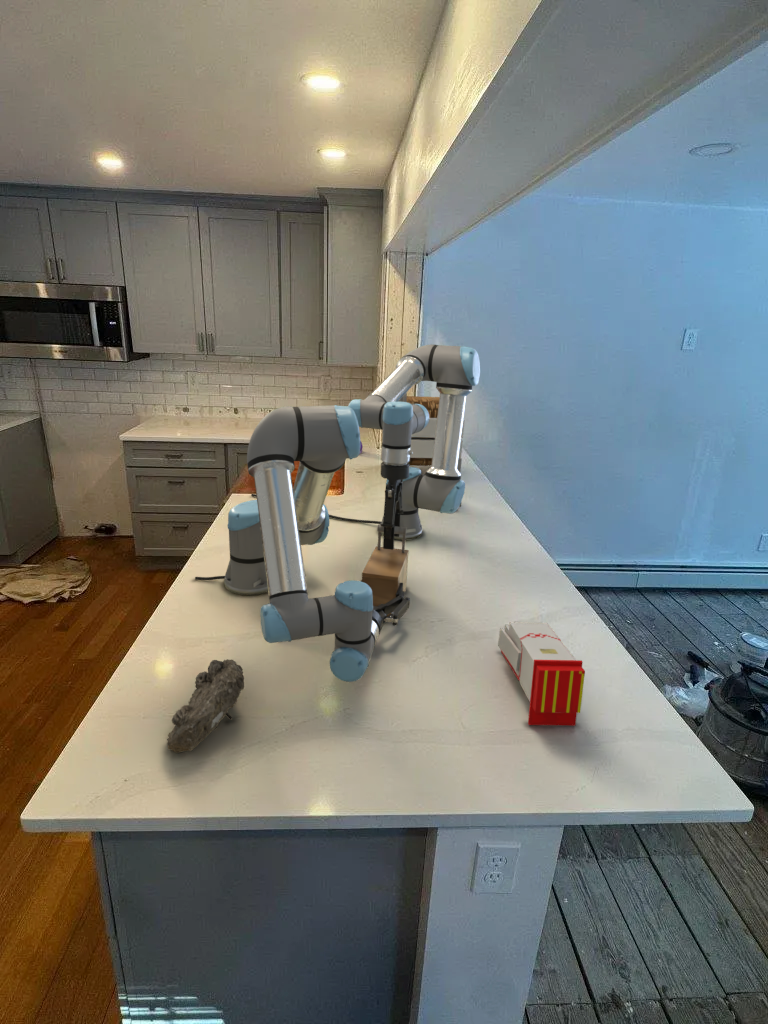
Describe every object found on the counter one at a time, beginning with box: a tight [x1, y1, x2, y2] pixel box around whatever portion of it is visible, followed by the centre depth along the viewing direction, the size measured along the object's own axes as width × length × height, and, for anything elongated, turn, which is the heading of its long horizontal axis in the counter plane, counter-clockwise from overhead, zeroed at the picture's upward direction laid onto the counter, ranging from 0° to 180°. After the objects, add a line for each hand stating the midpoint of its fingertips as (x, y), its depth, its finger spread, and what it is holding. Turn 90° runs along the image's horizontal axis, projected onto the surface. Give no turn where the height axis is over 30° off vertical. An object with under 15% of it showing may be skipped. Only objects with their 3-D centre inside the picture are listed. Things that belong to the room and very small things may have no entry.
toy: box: [497, 621, 586, 727], centre depth 121 cm, size 12×13×30 cm
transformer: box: [398, 392, 465, 475], centre depth 268 cm, size 34×33×41 cm
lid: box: [361, 524, 410, 581], centre depth 149 cm, size 18×9×8 cm, turn 169°
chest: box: [361, 555, 409, 616], centre depth 152 cm, size 17×9×11 cm, turn 169°
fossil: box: [166, 658, 245, 754], centre depth 106 cm, size 22×10×15 cm
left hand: (382, 585), depth 148 cm, fingers closed on chest, 9 cm apart
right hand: (391, 542), depth 156 cm, fingers open, 9 cm apart
